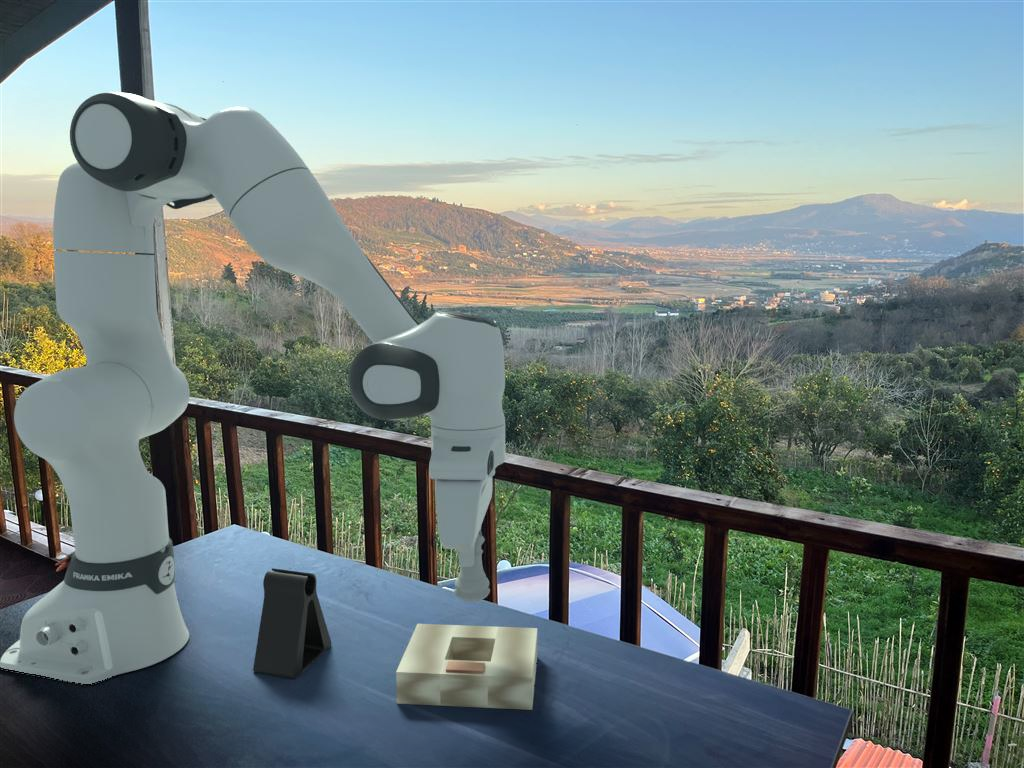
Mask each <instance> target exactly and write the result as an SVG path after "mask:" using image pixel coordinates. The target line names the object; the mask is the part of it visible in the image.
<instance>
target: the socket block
mask: <svg viewBox="0 0 1024 768" xmlns="http://www.w3.org/2000/svg"><path fill="white" fill-rule="evenodd" d="M537 661H538V628H537V627H536V628H535V627H516V626H515V627H514V626H512V627H511V626H488V625H487V626H485V625H461V624H456V625H455V624H437V623H436V624H435V623H434V624H433V623H417V624H416V626H415V629H414V631H413V633H412V635H411V637H410V639H409V642H408V644H407V647H406V649H405V651H404V652H403V655H402V657H401V659H400V662H399V665H398V666H397V669H396V673H395V679H396V680H395V681H396V704H398V705H400V704H401V705H419V706H420V705H421V706H441V707H442V706H443V707H445V706H446V707H464V708H465V707H466V708H482V709H483V708H484V709H485V708H486V709H489V708H490V709H505V710H506V709H509V710H510V709H511V710H529V711H533V706H534V695H535V686H534V685H536V684H535V683H536V673H537V664H536V663H538V662H537Z"/></svg>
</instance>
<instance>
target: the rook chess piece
mask: <svg viewBox="0 0 1024 768" xmlns="http://www.w3.org/2000/svg"><path fill="white" fill-rule="evenodd" d="M485 540H486V539H485V537H484V536H483V531H481V532H480V530H479V533H478V536H477V538H476V541H475V562H474V565H473V566H472V567H462V566H460V571H459V574H457V578H456V579H455V582H454V587H455V588H454V590H453V593H454V595H455V596H456V598H458V599H459V600H461V601H465V602H478V601H482V600H484V599H486V598H487V597H488V596H489V594H490V593H491V589H490V581H489V579H488V577H487V575H486V573H485V570H484V567H483V560H482V559H483V558H482V554H483V553H484V550H483V549H482V545H483V544H484V542H485Z"/></svg>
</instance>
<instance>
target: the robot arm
mask: <svg viewBox="0 0 1024 768" xmlns="http://www.w3.org/2000/svg"><path fill="white" fill-rule="evenodd" d="M69 141H70V147H71V148H70V149H71V151H72V154H73V156H74V158H75V160H76V162H75V163H72V164H70V165H69V166H67V167H66V168H65V169H64V170H63V171H62V172H61V174H60V176H59V179H58V182H57V188H56V189H57V190H56V194H55V202H54V203H55V204H54V211H53V212H54V213H53V227H52V229H53V231H52V236H53V237H52V239H53V240H52V244H53V246H52V247H53V265H54V287H55V305H56V311H57V314H58V316H59V317H60V319H61V320H62V321H63V322H64V323H65V324H66V325H68V326H69V327H71V328H72V329H73V331H74V332H75V333H76V335H77V337H78V338H79V341H80V343H81V346H82V348H83V349H82V350H83V352H84V354H85V359H86V365H85V366H83V365H82V366H78V367H77V366H76V367H73V368H72V367H71V368H67V369H62V370H59V371H57V372H55V373H52V374H51V375H48V376H46V377H44V378H42V379H40V380H39V381H37V382H35V383H33V384H31V385H29V386H28V387H27V388H26V389H25V390H24V391H22V393H20V396H19V397H18V399H17V401H16V404H15V407H14V412H13V417H14V418H13V421H14V422H13V423H14V427H15V431H16V433H17V435H18V438H20V440H21V442H22V443H23V445H24V446H26V448H27V449H28V450H29V451H31V453H33V454H35V455H36V456H37V457H39V458H42V459H44V460H45V461H46V462H47V463H49V464H50V466H51V467H52V468H53V470H54V471H55V473H56V474H57V477H58V478H59V480H60V482H61V484H62V487H63V488H64V489H63V490H64V491H65V494H66V498H67V501H68V505H69V506H68V507H69V513H70V519H71V520H70V521H71V527H72V535H73V544H74V551H73V552H71V553H69V554H68V555H66V557H65V558H63V559H62V560H60V561H59V562H57V563H55V566H59V567H57V569H56V570H55V571H56V572H60V571H62V570H63V569H65V568H67V569H66V572H65V576H64V579H63V580H62V581H61V582H60V583H59V584H58V585H56V586H55V587H54V588H52V589H51V590H50V591H49V592H48V593H46V594H45V595H44V596H43V597H42V598H40V599H39V600H38V601H37V602H35V603H34V604H33V605H32V606H31V607H30V608H29V609H28V610H27V612H25V615H24V616H23V618H22V621H21V626H20V633H19V639H18V640H17V641H16V642H14V643H13V644H12V645H11V646H10V647H8V649H6V650H5V652H4V653H3V654H2V656H1V657H0V667H1V668H4V669H9V670H15V671H19V672H24V673H29V674H36V675H41V676H46V677H50V678H49V679H51V678H54V679H53V680H56V679H59V680H58V681H62V680H63V682H67V681H68V683H72V682H75V683H74V684H78V683H81V684H80V685H83V684H91V685H93V684H92V683H95V682H98V681H101V682H103V681H105V679H106V680H108V679H110V678H112V676H113V677H115V676H117V675H122V674H126V673H129V672H133V671H137V670H140V669H144V668H148V667H150V666H153V665H155V664H157V663H160V662H162V661H164V660H167V659H168V658H169V657H171V656H174V655H175V654H176V653H177V652H179V651H180V650H182V648H184V647H185V645H186V644H187V643H188V642H189V639H190V632H189V630H188V629H189V628H188V627H187V626H186V623H185V620H184V617H183V615H182V614H183V613H182V612H181V608H180V604H179V601H178V597H177V591H176V587H175V577H176V576H175V575H176V573H175V572H176V571H175V570H176V565H175V563H176V562H175V553H174V552H175V550H174V544H173V540H172V538H170V533H169V522H168V520H169V519H168V505H167V496H166V488H165V486H164V484H163V483H162V481H161V480H160V479H159V478H157V477H156V476H154V475H152V474H150V473H149V471H148V469H147V467H146V465H145V462H144V461H143V458H142V454H141V450H140V445H139V444H140V440H142V439H144V438H147V437H148V436H149V437H150V436H153V435H155V434H157V433H159V432H161V431H163V430H165V429H166V428H168V427H169V426H171V425H172V423H173V424H174V422H175V421H176V420H177V419H178V418H179V417H181V415H183V413H184V412H185V411H186V409H187V407H188V404H189V401H190V395H191V394H190V393H191V392H190V386H189V382H188V380H187V378H186V375H185V373H183V371H182V370H181V369H180V368H179V367H178V366H177V365H176V364H175V363H174V362H173V360H172V358H171V356H170V353H169V351H168V348H167V345H166V342H165V339H164V336H163V333H162V332H163V331H162V328H161V325H160V324H161V323H160V320H159V316H158V315H159V314H158V306H157V305H158V304H157V288H156V287H157V286H156V269H155V268H156V267H155V266H156V265H155V264H156V263H155V255H154V254H155V243H154V223H155V219H156V216H157V213H158V212H159V211H160V209H162V208H164V206H165V205H166V206H167V207H169V208H171V209H174V210H179V209H181V208H182V209H183V208H186V207H189V206H191V205H195V204H198V203H202V202H206V201H209V200H213V199H215V200H216V201H217V202H218V204H219V205H220V206H221V208H222V210H223V211H224V212H225V214H226V216H227V217H228V219H229V220H230V221H231V223H232V225H233V226H234V227H235V229H236V230H237V232H238V233H239V234H240V236H241V237H242V239H243V240H244V241H245V243H247V245H249V246H250V248H251V249H252V251H254V252H255V253H256V254H257V255H258V256H259V257H260V258H261V259H262V260H263V261H264V262H266V263H267V264H268V265H269V266H270V267H273V268H274V269H275V268H276V269H278V270H280V271H282V272H285V273H288V274H291V275H294V276H297V277H299V278H302V279H305V280H307V281H309V282H312V283H314V284H315V285H317V286H319V287H321V288H323V289H325V290H326V291H328V292H329V293H330V294H331V295H333V296H334V297H335V298H336V299H337V300H338V301H339V302H340V303H341V304H342V305H343V306H344V308H345V309H346V310H347V311H348V313H349V314H350V316H351V317H352V318H353V320H354V321H355V322H356V323H357V325H358V326H359V327H360V328H361V330H362V331H363V332H364V333H365V335H366V337H368V338H369V340H370V341H371V342H372V343H370V344H369V345H367V346H366V347H365V348H363V349H361V350H360V351H359V352H358V353H357V354H356V356H355V357H354V359H353V361H352V362H351V364H350V368H349V371H348V387H349V391H350V394H351V396H352V399H353V401H354V402H355V404H356V405H357V406H358V408H359V409H360V410H361V411H362V412H364V413H365V414H366V415H368V416H369V417H371V418H374V419H377V420H381V421H399V420H403V419H407V418H412V417H413V418H414V417H418V416H423V415H425V416H427V417H429V418H430V439H431V441H430V443H431V444H430V445H431V446H430V449H431V453H430V458H429V462H428V463H429V464H428V465H429V466H428V471H429V472H428V474H429V478H430V479H431V480H435V482H434V495H435V497H434V498H435V499H434V500H435V511H436V520H437V531H438V537H439V541H440V544H441V547H442V548H443V549H447V550H457V552H458V564H459V566H460V567H461V566H462V567H472V566H473V565H474V562H475V541H476V538H477V536H478V533H479V530H480V532H482V524H483V521H484V520H485V516H486V513H487V511H488V509H489V505H490V502H491V500H492V497H493V486H494V485H493V476H495V474H496V468H497V467H498V466H500V465H503V464H504V463H505V461H506V417H505V413H504V410H503V395H504V392H505V388H506V369H505V368H506V367H505V366H506V364H505V351H504V344H503V343H504V342H503V337H502V332H501V329H500V327H499V325H498V324H497V322H495V320H493V319H492V318H491V317H489V316H487V315H485V314H482V313H477V312H473V311H468V310H462V309H460V310H459V309H452V308H451V309H448V308H447V309H441V310H438V311H435V312H434V313H433V315H431V316H430V317H429V318H428V319H426V320H424V321H423V322H420V321H419V320H418V319H416V318H415V317H414V316H413V314H412V313H411V312H410V310H409V309H408V308H407V307H406V305H405V304H404V302H403V301H402V300H401V299H400V297H399V296H398V295H397V294H396V292H395V291H394V289H393V288H392V287H391V285H389V283H388V282H387V280H386V279H385V278H384V276H383V275H382V274H381V273H380V271H379V270H378V269H377V267H376V266H375V265H374V263H373V262H372V261H371V260H370V259H369V257H368V256H367V255H366V253H365V252H364V251H363V250H362V248H361V247H360V245H359V243H358V241H357V239H355V237H354V236H353V234H352V232H351V231H350V229H348V227H347V226H346V224H345V223H344V221H343V219H342V217H341V216H340V215H339V213H338V212H337V210H336V208H335V207H334V205H333V203H332V202H331V200H330V198H329V197H328V195H327V194H326V192H325V190H324V189H323V188H322V186H321V185H320V183H319V182H318V180H317V179H316V177H315V176H314V174H313V173H312V171H311V170H310V169H309V167H308V166H307V165H306V163H305V161H304V160H303V158H301V156H300V155H299V154H298V152H297V151H296V150H295V148H294V147H293V146H292V145H291V144H290V142H288V140H287V139H286V138H285V137H284V136H283V135H282V134H281V133H280V132H279V130H277V128H276V127H275V126H274V125H273V124H272V123H271V122H270V121H269V120H267V118H266V117H264V116H263V115H262V114H261V113H260V112H258V111H257V110H254V109H252V108H249V107H244V106H232V107H228V108H223V109H221V110H218V111H217V112H214V113H213V114H212V115H210V116H209V117H207V118H206V117H205V118H204V117H201V116H198V115H196V114H194V113H192V112H190V111H189V110H186V109H184V108H181V107H179V106H177V105H174V104H171V103H166V102H165V103H164V102H160V101H159V102H158V101H156V100H152V99H147V98H146V97H143V96H141V95H137V94H135V93H134V94H133V93H128V92H118V91H109V92H101V93H97V94H94V95H92V96H90V97H88V98H87V99H85V100H84V101H83V102H81V104H80V105H79V106H78V107H77V109H76V110H75V112H74V114H73V115H72V118H71V122H70V127H69ZM19 672H18V673H19ZM24 673H23V674H24ZM29 674H28V675H29ZM107 678H108V679H107ZM102 680H103V681H102ZM98 683H99V682H98ZM95 684H96V683H95Z"/></svg>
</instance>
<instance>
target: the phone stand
mask: <svg viewBox="0 0 1024 768" xmlns="http://www.w3.org/2000/svg"><path fill="white" fill-rule="evenodd" d="M262 583H263V584H262V586H263V593H264V595H263V603H262V609H261V616H260V621H259V627H258V628H259V629H258V636H257V642H256V647H255V648H256V649H255V655H254V662H253V666H252V667H253V669H252V671H253V672H254V673H259V674H265V675H271V676H275V677H276V676H277V677H282V678H288V679H291V680H292V679H293V680H296V679H297V678H298V677H299V676H300V675H302V673H303V672H305V670H306V671H307V669H308V668H309V667H310V666H311V665H312V664H313V663H314V662H315V661H317V659H319V658H320V657H321V656H322V655H323V654H324V653H325V652H327V650H329V649H330V648H331V647H332V641H331V637H330V634H329V633H330V632H329V630H328V627H327V624H326V620H325V616H324V613H323V609H322V607H321V604H320V600H319V597H318V593H317V577H316V575H315V574H314V573H309V572H302V571H297V570H295V571H294V570H289V569H280V568H273V567H272V568H271V571H270V570H267V571H266V573H265V575H264V577H263V581H262Z"/></svg>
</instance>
